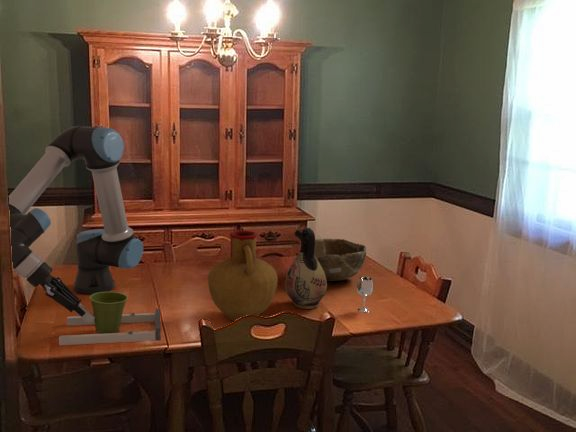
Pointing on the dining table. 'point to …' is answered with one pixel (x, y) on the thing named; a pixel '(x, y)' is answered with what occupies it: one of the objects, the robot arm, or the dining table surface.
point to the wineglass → (364, 290)
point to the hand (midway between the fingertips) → (92, 320)
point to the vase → (242, 279)
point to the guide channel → (114, 337)
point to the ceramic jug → (306, 274)
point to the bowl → (339, 258)
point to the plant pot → (108, 310)
